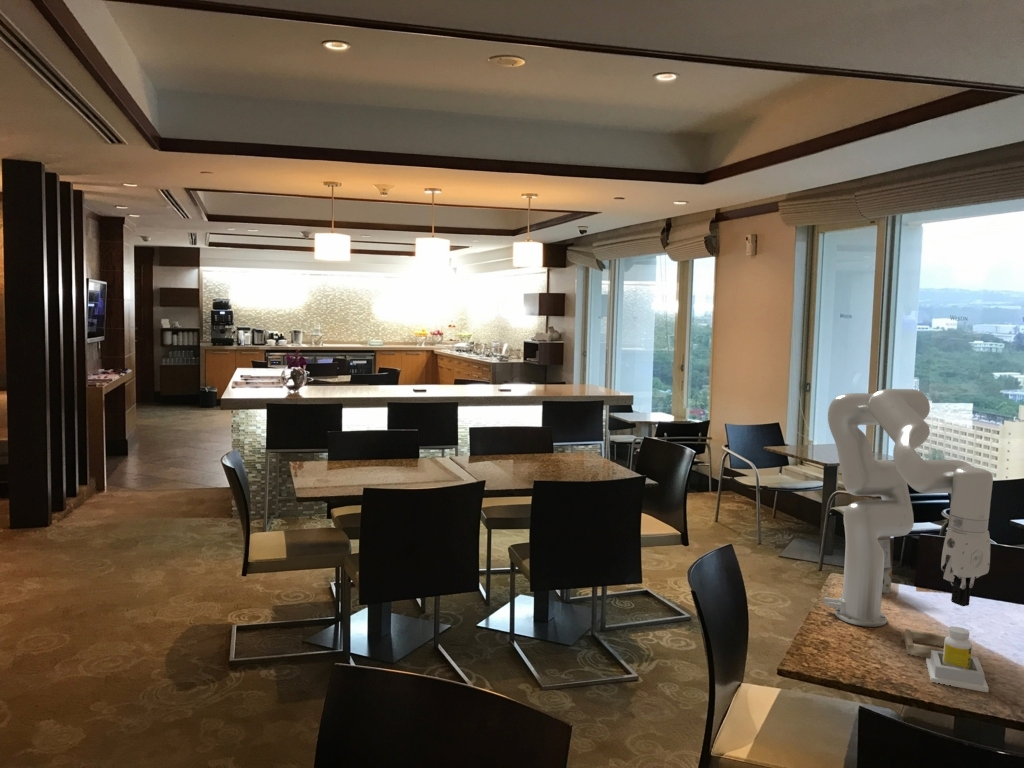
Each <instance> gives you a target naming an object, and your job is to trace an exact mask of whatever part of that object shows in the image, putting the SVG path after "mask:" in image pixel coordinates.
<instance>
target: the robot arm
mask: <svg viewBox="0 0 1024 768" xmlns="http://www.w3.org/2000/svg"><path fill="white" fill-rule="evenodd" d="M930 410H931V406H930V402H929V399H928V397H927V396H926V394H924V393H923V392H922V391H920V390H918V389H913V388H912V389H911V388H886V389H885V388H884V389H880V390H877V391H876V392H874V393H873V392H872V393H871V392H870V393H869V392H868V393H867V392H866V393H865V392H855V393H853V392H851V393H844V394H840V395H838V396H836V397H835V398H833V400H831V402H830V405H829V407H828V411H827V423H828V427H829V430H830V434H831V435H832V438H833V439H834V443H835V447H836V449H837V450H836V451H837V457H838V461H839V467H840V473H841V478H842V483H843V487H844V488H845V491H846V492H847V493H848V494H850V495H852V496H857V497H860V496H861V497H870V496H873V497H874V496H877V497H880V498H881V500H880V499H879V500H878V499H876V500H874V499H873V500H870V499H869V500H858V501H853V502H852V503H850V504H848V505H847V506H846V508H845V509H844V510H843V525H844V534H845V535H844V536H845V537H844V538H845V551H844V570H843V581H842V583H843V584H842V593H841V594H840V597H836V598H834V597H833V598H832V597H828V596H824V597H823V605H827V606H828V608H835V609H834V615H835V616H836V617H837V619H839V620H841V621H843V622H846V623H848V624H852V625H855V626H860V627H869V628H870V627H872V628H873V627H876V628H877V627H882V626H884V625H886V624H887V620H888V619H887V616H886V615H885V614H884V613H882V612H881V610H882V601H883V600H882V599H883V598H882V597H883V593H882V587H883V573H884V552H883V549H882V547H881V546H880V544H879V542H878V538H879V537H891V538H893V537H902V536H903V537H904V536H906V535H908V534H909V533H911V532H912V530H913V528H914V524H915V523H914V522H915V521H914V510H913V505H912V501H911V496H910V492H909V491H910V490H909V487H910V488H911V489H913V490H914V491H916V492H918V493H921V494H951V497H950V508H949V518H948V526H947V527H948V528H947V530H946V533H945V538H944V542H943V546H942V547H943V548H942V553H941V563H940V564H941V565H940V568H941V571H942V572H943V580H945V581H946V582H950V584H951V586H952V589H951V599H950V601H951V603H954V604H956V605H958V606H960V607H967V606H968V607H969V606H970V601H971V591H972V590H971V589H972V588H973V587H974V583H975V581H976V580H977V579H978V578H980V577H982V576H984V575H987V574H988V573H989V571H990V566H991V565H990V564H991V538H990V536H991V535H990V531H989V530H988V529H989V519H990V510H991V500H992V491H993V482H994V480H993V479H994V476H993V474H992V473H991V472H990V471H989V470H986V469H984V468H980V467H975V466H974V465H971V464H969V463H968V462H966V461H964V460H960V459H923V458H922V457H921V456H920V454H918V452H917V451H916V450H915V449H917V448H918V447H920V446H922V444H924V443H925V442H926V440H927V439H928V437H929V435H930V431H931V430H930V426H929V424H928V423H927V422H926V420H925V419H926V418H927V417H928V416H929V415H930V412H931V411H930ZM862 425H863V426H881V428H882V429H883V430H884V431H885V433H886V434H887V435H888V436H889V438H890V439H891V440H892V441H893V442H894V445H893V454H892V455H893V456H892V457H893V460H891V459H890V460H888V459H876V458H875V457H874V454H873V451H872V445H871V441H870V440H869V438H868V437H867V435H866V434H865V433H864V432H863V431H862V430H861V429H860V428H859V426H862Z"/></svg>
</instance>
